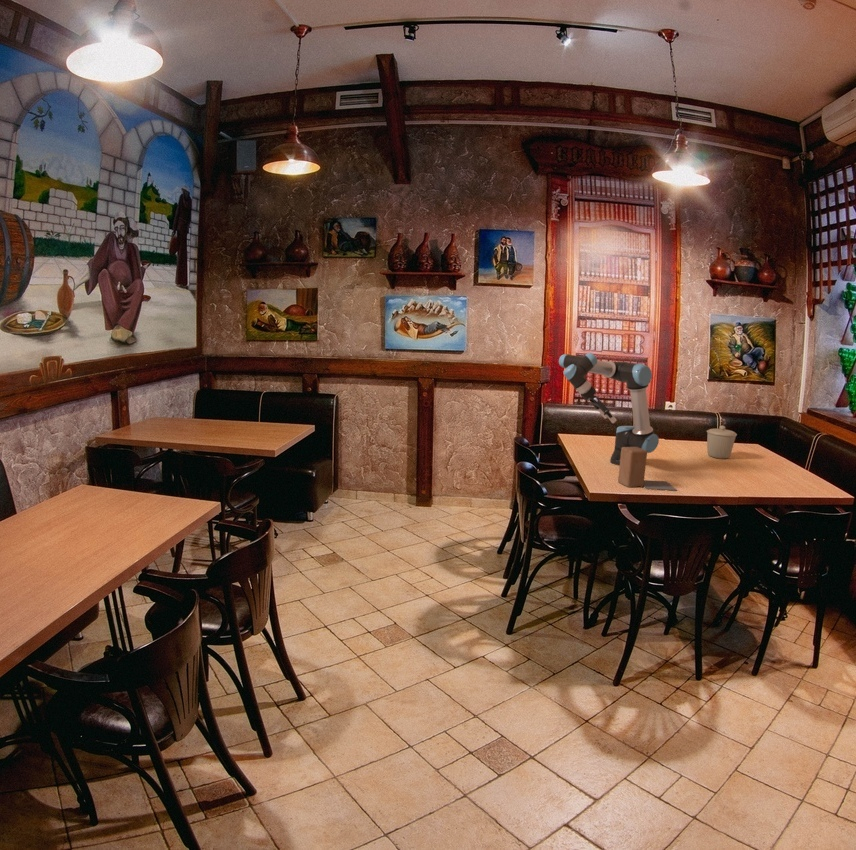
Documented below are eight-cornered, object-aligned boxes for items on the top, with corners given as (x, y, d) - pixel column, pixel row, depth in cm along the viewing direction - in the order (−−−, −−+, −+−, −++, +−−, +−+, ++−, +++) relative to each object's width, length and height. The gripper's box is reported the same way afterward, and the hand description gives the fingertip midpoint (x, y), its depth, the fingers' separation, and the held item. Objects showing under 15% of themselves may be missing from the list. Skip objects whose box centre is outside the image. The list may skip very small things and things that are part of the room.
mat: (636, 480, 334) (636, 479, 334) (665, 482, 334) (666, 481, 334) (646, 489, 318) (646, 488, 318) (677, 491, 318) (677, 489, 318)
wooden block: (627, 487, 320) (631, 451, 316) (617, 482, 330) (620, 446, 326) (644, 487, 323) (648, 450, 319) (633, 481, 332) (637, 446, 328)
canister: (734, 461, 387) (739, 429, 383) (703, 458, 394) (707, 426, 390) (732, 456, 404) (737, 425, 400) (703, 452, 411) (707, 421, 407)
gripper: (574, 391, 334) (598, 419, 337) (586, 398, 310) (612, 428, 313) (585, 382, 333) (609, 411, 336) (598, 388, 309) (623, 419, 312)
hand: (610, 419), depth 324 cm, fingers open, 13 cm apart
